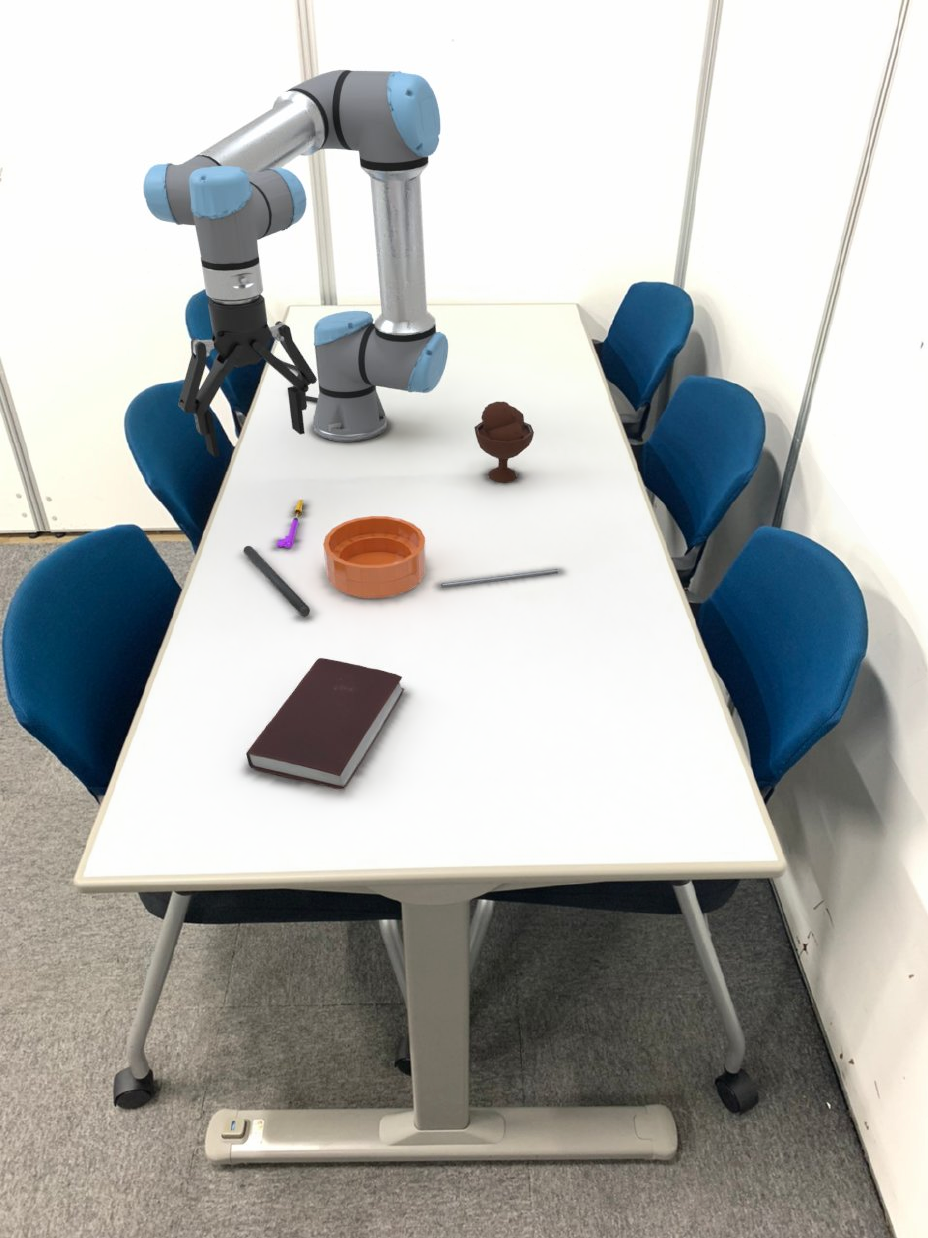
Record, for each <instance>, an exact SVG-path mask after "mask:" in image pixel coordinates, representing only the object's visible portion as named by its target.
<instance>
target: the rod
mask: <svg viewBox="0 0 928 1238" xmlns="http://www.w3.org/2000/svg"><path fill="white" fill-rule="evenodd" d="M555 574H559V570H558V569H557V568H556V569H548V570H540V571H531V572H523V573H516V574H515V573H514V574H507V575H499V576H491V577H483V578H475V579H468V580H460V581H450V582H444V583H441V585H440V586H441V588H442V589H445V588H452V587H460V586H461V587H462V586H468V585H469V586H470V585H477V584H486V583H491V582H493V583H494V582H500V581H508V580H515V579H517V580H518V579H525V578H531V577H533V578H534V577H539V576H547V575H548V576H549V575H555Z"/></svg>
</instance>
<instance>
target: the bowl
mask: <svg viewBox="0 0 928 1238" xmlns="http://www.w3.org/2000/svg"><path fill="white" fill-rule="evenodd" d="M323 555H324V557H323V558H324V565H325V574H326V577H327V581H328V582H329V583H330V585H332V586H333V588H335V589H336V590H338V591H340V592H342V593H344V594H346V595H349V596H354V597H359V598H363V599H364V598H367V599H369V598H370V599H381V598H386V597H394V596H396V595H400V594H403V593H405V592H408V591H410V590H412V589H413V588H414V587H415V586H416V587H417V585H419V584H420V583H421V581H422V580H423V579H424V577H425V576H426V570H427V569H426V567H427V563H426V562H427V560H426V559H427V558H426V537H425V535H424V533H423V531H422V529H420V528H419V527H418V526H416V525H415V524H414V523H412V522H410V521H407V520H405V519H402V518H399V517H392V516H386V515H370V516H363V517H356V518H353V519H350V520H349V519H348V520H346V521H344V522H341V523H340V524H338V525H336V526H335V527H333V528H331V530H330V531H329V532H327V534H326V535H325V537H324V540H323Z"/></svg>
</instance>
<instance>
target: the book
mask: <svg viewBox="0 0 928 1238" xmlns="http://www.w3.org/2000/svg"><path fill="white" fill-rule="evenodd" d="M402 679H403V676H401V675H399V674H397V673H393V672H389V671H386V670H382V669H379V668H371V667H368V666H363V665H359V664H354V663H349V662H346V661H341V660H335V659H330V658H325V657H319V658H318V659H316V660H315V662H314V663H313V664H312V665H311V667H310V668H309V670H308V671H307V672H306V673H305V675H304V676H303V677H302V679H301V680H300V681H299V683H298V684H297V685H296V687H295V688H294V689H293V691H292V692H291V693H290V695H289V696H288V697H287V699H286V700H285V702H284V703H283V704H282V705H281V707H280V708H279V709H278V710H277V712H276V714H275V715H274V716H273V717H272V719H271V720H270V721H269V722H268V723H267V724H266V726H265V728H264V729H263V730H262V731H261V733H260V734H259V735H258V736H257V737H256V739H255V740H254V742H253V743H252V745H251V746H250V747H249V749H248V750H247V751H246V754H245V755H246V758H247V762H248V765H249V766H250V768H251V769H255V770H257V771H260V772H264V773H268V774H273V775H277V776H281V777H286V778H290V779H294V780H300V781H305V782H308V783H312V784H316V785H322V786H324V787H328V788H333V789H338V790H339V789H340V790H345V788H346V787H347V785H348V783H349V782H350V780H351V779H352V778H353V776H354V774H355V772H356V771H357V769H358V767H359V766H360V764H361V762H362V760H363V759H364V758H365V757H366V755H367V754H368V752H369V750H370V748H371V747H372V745H373V743H374V742H375V741H376V738H377V737H378V735H379V733H380V731H381V729H382V728H383V727H384V725H385V723H386V721H388V719H389V717H390V715H391V713H392V712H393V710H394V708H395V707H396V705H397V703H398V702H399V700H400V698H401V696H402V695H403V692H404V691H405V688H402V686H401V681H402Z"/></svg>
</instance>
